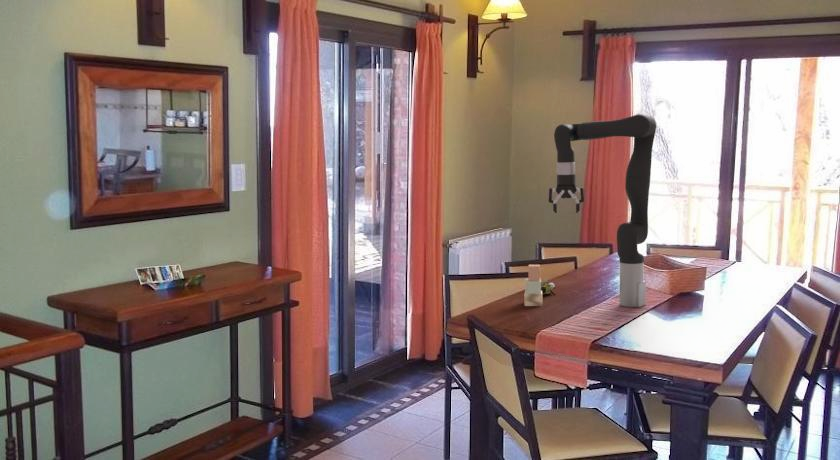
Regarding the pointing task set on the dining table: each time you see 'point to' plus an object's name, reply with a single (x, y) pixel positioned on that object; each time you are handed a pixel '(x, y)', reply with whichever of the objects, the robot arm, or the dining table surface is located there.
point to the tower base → (533, 299)
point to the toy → (547, 287)
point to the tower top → (533, 287)
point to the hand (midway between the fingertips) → (566, 212)
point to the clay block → (534, 272)
